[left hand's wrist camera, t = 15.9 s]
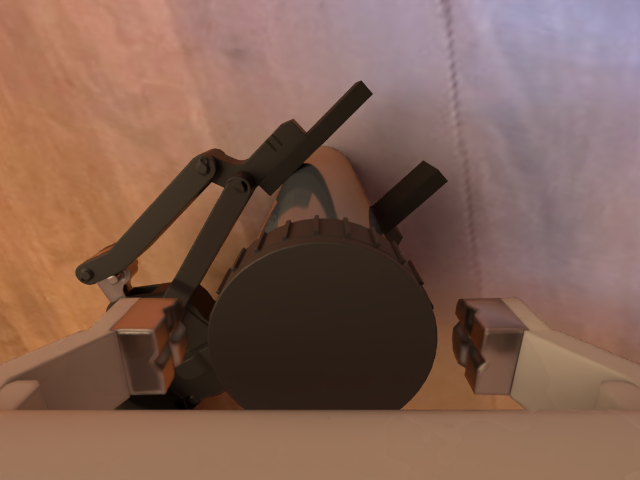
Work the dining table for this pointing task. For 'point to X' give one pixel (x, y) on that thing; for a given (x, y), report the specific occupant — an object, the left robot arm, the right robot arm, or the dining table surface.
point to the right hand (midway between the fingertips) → (399, 131)
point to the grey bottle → (322, 193)
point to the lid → (322, 321)
